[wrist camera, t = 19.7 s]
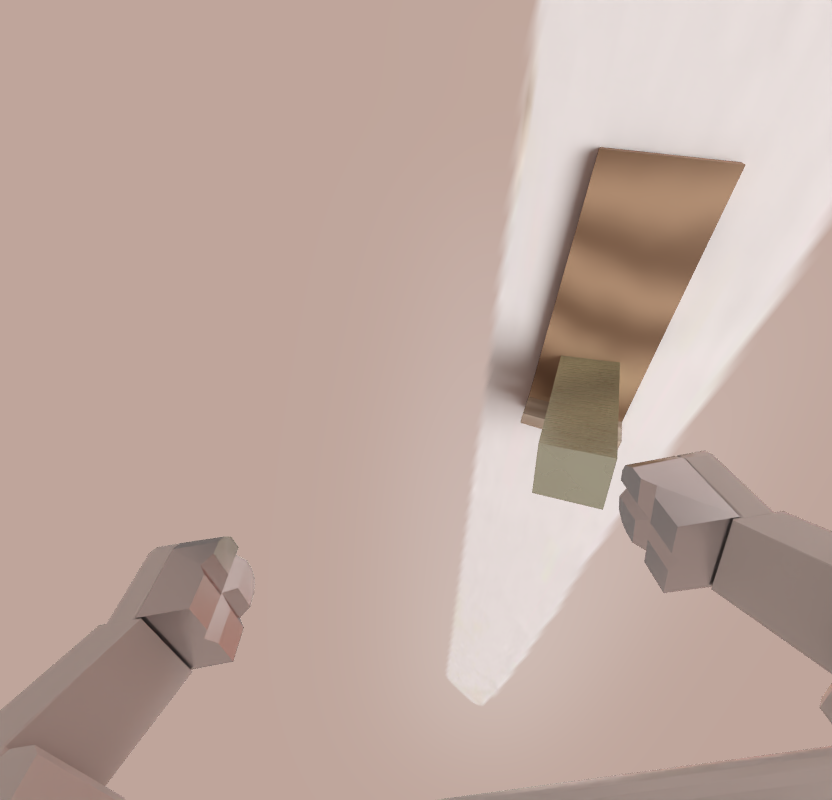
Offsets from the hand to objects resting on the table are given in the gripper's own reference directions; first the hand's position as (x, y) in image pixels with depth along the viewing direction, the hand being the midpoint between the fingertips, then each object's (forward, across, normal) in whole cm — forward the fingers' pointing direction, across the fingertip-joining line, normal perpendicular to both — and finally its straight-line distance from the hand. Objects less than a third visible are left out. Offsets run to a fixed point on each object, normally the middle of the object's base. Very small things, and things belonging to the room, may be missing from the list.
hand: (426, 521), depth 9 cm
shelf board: (+28, -17, +9) cm, 33 cm away
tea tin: (+27, -15, +15) cm, 34 cm away
